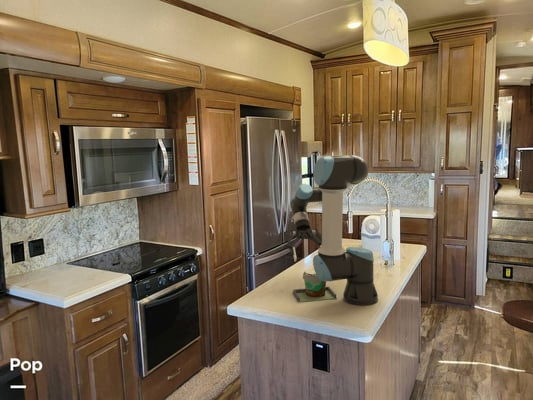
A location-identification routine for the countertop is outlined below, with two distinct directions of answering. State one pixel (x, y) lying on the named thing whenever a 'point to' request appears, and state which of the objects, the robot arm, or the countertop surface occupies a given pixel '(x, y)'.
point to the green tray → (302, 297)
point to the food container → (314, 285)
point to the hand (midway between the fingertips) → (309, 259)
